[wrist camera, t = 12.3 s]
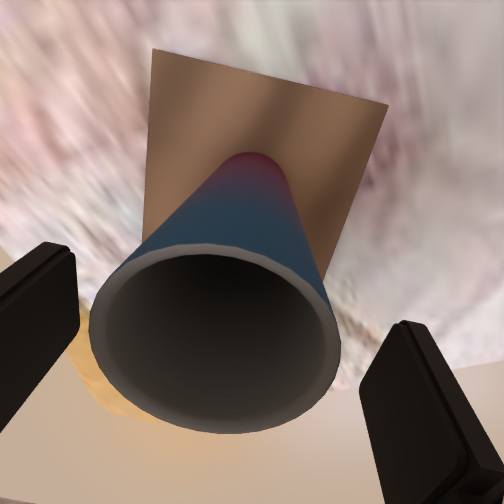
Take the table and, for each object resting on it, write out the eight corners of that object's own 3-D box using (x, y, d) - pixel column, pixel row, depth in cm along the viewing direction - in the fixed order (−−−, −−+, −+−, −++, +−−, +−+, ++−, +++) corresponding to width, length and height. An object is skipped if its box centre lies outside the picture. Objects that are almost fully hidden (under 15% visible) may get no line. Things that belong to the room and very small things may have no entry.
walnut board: (383, 103, 20) (388, 105, 19) (315, 286, 27) (317, 295, 26) (159, 50, 20) (152, 48, 19) (146, 250, 26) (141, 258, 25)
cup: (306, 227, 23) (349, 427, 10) (213, 241, 24) (139, 440, 11) (293, 127, 20) (330, 221, 7) (188, 147, 21) (40, 265, 8)
